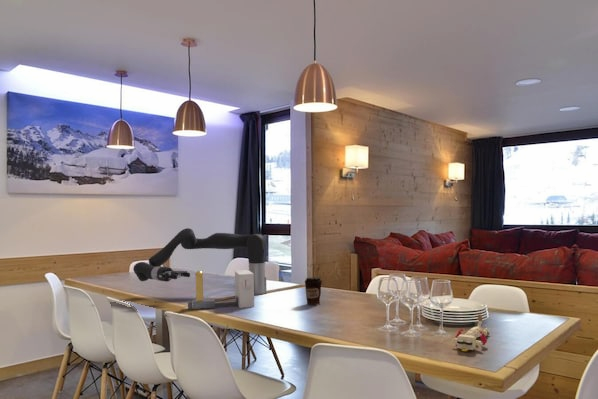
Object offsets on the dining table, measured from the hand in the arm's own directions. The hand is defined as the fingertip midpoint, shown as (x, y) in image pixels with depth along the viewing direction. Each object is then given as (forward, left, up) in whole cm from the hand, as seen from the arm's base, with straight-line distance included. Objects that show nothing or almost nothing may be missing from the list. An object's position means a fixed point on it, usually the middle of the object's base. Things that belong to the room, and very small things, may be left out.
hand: (183, 276), depth 235 cm
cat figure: (-91, +107, -15) cm, 141 cm away
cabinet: (-29, +12, -14) cm, 35 cm away
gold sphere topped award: (-9, +12, -14) cm, 21 cm away
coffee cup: (-61, +25, -15) cm, 68 cm away
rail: (-15, +12, -14) cm, 24 cm away
